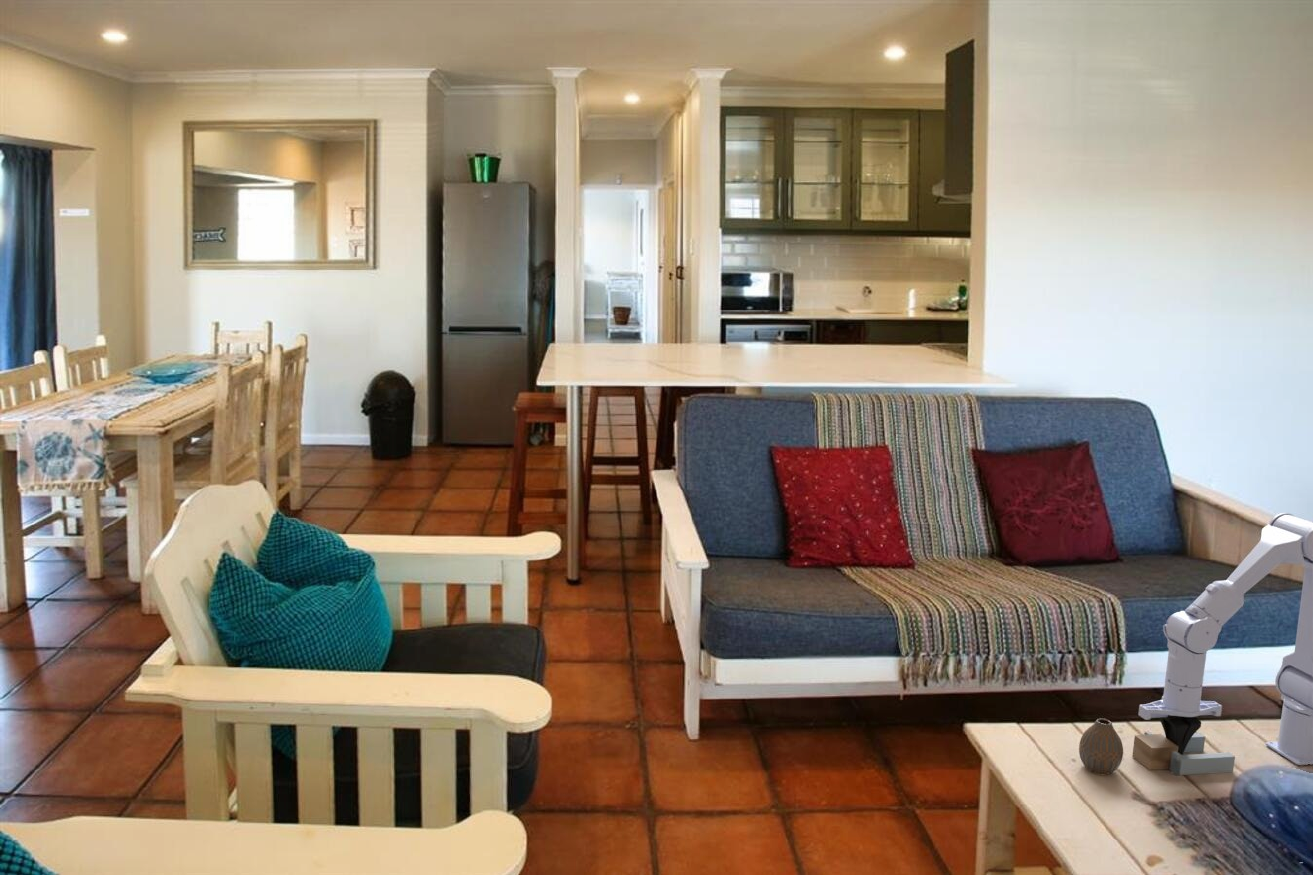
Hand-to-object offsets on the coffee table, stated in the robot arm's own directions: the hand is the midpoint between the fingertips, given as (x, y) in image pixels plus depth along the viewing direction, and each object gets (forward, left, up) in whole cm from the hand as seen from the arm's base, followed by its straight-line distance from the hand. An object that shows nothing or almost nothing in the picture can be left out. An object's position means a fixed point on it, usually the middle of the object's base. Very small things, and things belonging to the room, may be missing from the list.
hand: (1174, 754), depth 178 cm
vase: (+15, +1, -2) cm, 15 cm away
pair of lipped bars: (-3, 0, -1) cm, 3 cm away
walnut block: (+4, 0, -1) cm, 4 cm away
